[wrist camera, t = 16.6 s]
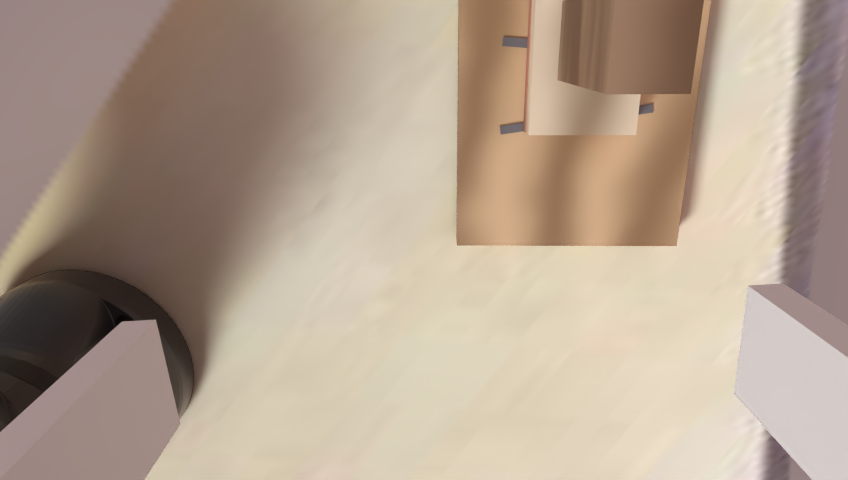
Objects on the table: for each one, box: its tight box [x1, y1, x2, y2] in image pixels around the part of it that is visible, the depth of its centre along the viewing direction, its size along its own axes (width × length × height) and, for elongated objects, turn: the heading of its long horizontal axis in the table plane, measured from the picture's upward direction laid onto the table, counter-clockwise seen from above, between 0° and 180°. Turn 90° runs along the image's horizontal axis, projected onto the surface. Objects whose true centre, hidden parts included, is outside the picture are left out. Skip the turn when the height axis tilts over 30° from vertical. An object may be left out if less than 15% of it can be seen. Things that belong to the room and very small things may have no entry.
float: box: [523, 0, 704, 135], centre depth 27 cm, size 6×10×12 cm, turn 0°
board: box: [456, 0, 711, 246], centre depth 34 cm, size 14×22×2 cm, turn 1°
